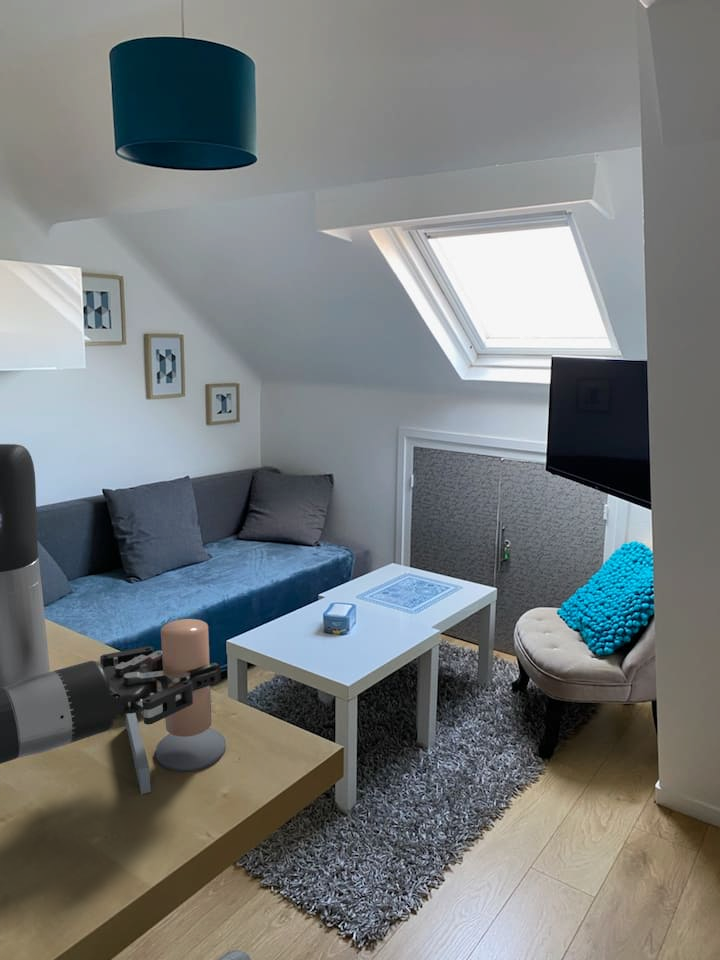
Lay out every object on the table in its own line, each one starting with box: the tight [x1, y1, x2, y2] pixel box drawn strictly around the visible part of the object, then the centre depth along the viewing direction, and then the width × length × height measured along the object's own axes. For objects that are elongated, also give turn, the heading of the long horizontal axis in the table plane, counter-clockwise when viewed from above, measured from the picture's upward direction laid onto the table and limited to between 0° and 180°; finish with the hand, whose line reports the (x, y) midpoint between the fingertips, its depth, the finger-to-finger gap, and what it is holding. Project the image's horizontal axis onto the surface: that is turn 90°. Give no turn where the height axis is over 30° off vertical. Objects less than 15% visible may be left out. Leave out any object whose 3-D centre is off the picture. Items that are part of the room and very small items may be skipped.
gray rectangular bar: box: [124, 712, 152, 795], centre depth 85 cm, size 14×1×3 cm, turn 24°
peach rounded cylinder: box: [160, 618, 212, 737], centre depth 84 cm, size 5×5×12 cm
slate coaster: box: [155, 727, 227, 772], centre depth 87 cm, size 8×8×1 cm
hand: (206, 662), depth 86 cm, fingers closed on peach rounded cylinder, 5 cm apart
